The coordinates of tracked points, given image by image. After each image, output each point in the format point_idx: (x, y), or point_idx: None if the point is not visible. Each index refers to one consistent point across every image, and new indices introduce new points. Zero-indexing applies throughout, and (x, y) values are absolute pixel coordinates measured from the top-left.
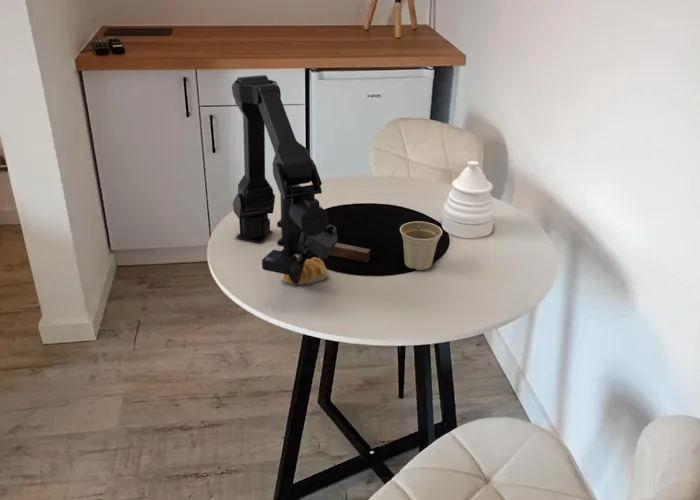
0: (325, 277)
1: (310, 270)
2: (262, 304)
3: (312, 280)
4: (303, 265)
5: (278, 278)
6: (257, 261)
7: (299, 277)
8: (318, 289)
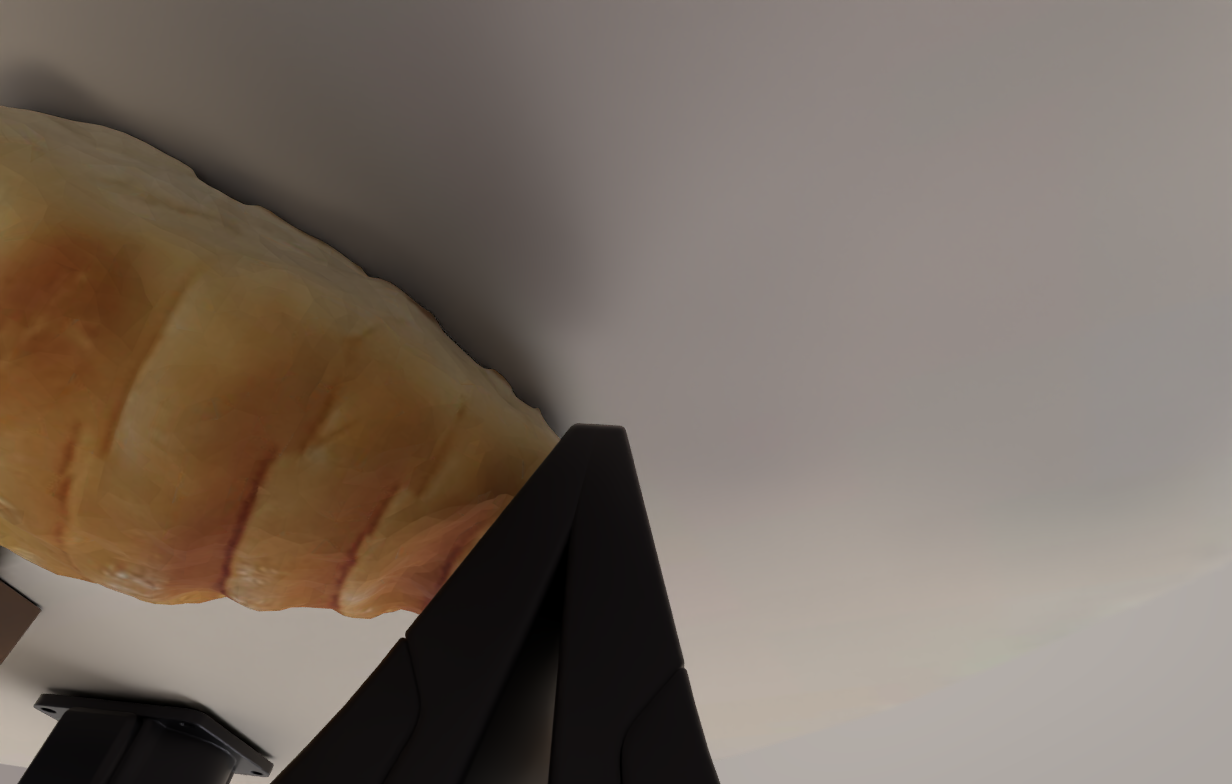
0: (15, 113)
1: (221, 442)
2: (1107, 546)
3: (315, 270)
4: (382, 725)
5: None
6: None
7: (576, 512)
8: (419, 54)
